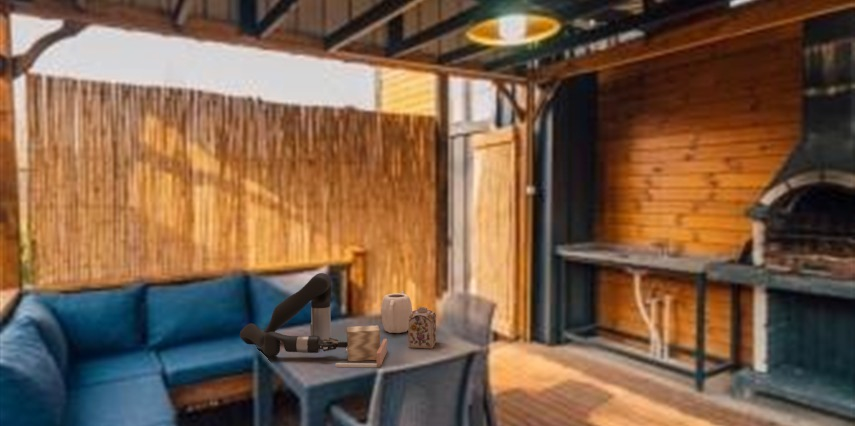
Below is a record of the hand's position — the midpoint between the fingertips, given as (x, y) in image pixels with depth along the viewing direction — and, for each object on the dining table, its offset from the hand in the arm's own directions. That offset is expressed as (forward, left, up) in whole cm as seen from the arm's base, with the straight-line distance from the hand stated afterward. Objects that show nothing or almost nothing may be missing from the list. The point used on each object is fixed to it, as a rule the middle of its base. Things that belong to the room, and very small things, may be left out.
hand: (347, 344), depth 271 cm
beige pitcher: (+17, +50, -7) cm, 53 cm away
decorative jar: (+32, +23, -7) cm, 40 cm away
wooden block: (+7, +3, -6) cm, 10 cm away
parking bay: (+7, 0, -6) cm, 9 cm away
